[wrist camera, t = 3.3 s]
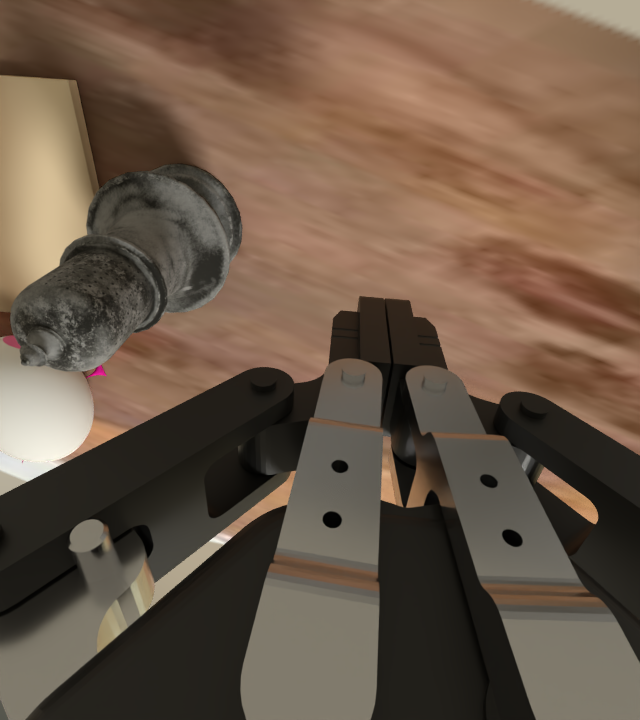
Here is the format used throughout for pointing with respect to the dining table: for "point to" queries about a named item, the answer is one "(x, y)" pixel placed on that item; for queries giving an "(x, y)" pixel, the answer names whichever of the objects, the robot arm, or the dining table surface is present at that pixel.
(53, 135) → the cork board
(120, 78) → the dining table surface
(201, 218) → the grey chess piece
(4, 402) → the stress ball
